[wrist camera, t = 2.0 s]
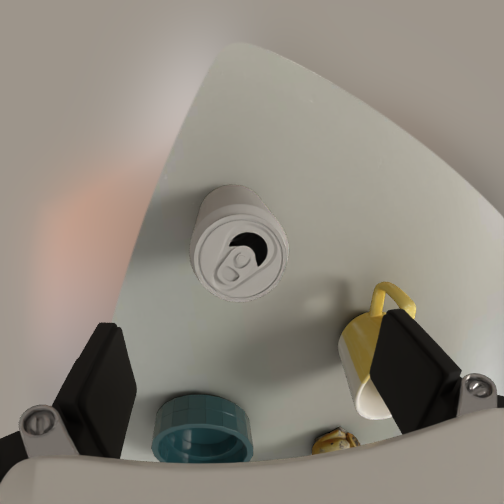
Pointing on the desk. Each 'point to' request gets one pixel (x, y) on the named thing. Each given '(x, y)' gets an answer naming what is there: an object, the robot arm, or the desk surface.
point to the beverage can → (237, 245)
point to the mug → (368, 350)
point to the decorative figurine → (334, 441)
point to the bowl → (202, 431)
